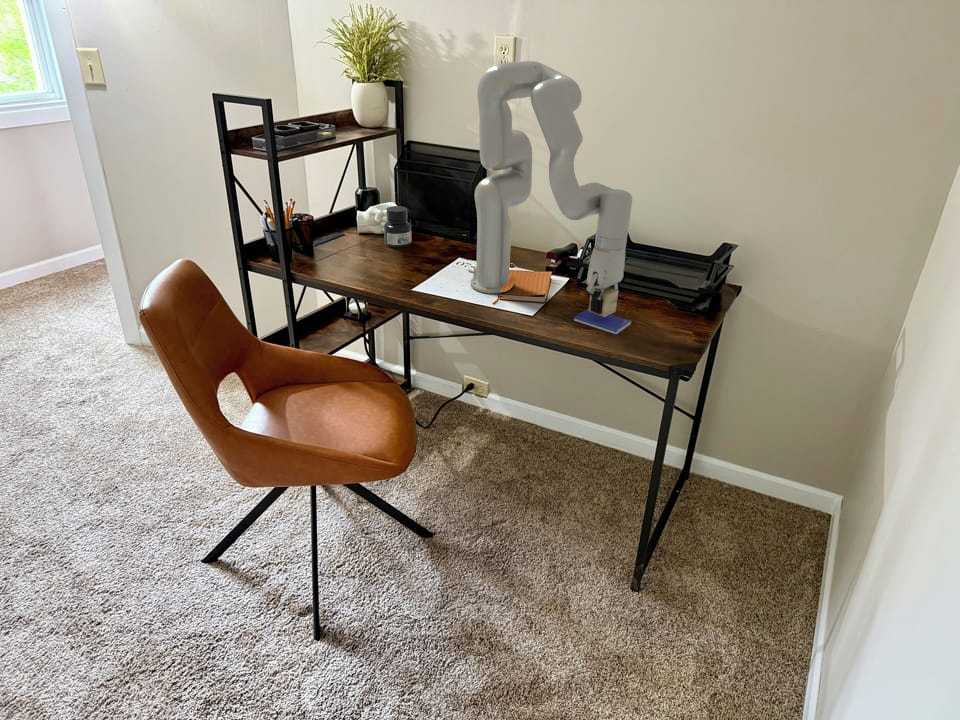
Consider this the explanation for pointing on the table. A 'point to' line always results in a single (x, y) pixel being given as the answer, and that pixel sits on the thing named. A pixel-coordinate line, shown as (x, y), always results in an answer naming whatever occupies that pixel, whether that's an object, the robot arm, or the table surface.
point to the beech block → (607, 301)
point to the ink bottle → (397, 227)
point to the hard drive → (602, 321)
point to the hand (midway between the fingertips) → (602, 308)
